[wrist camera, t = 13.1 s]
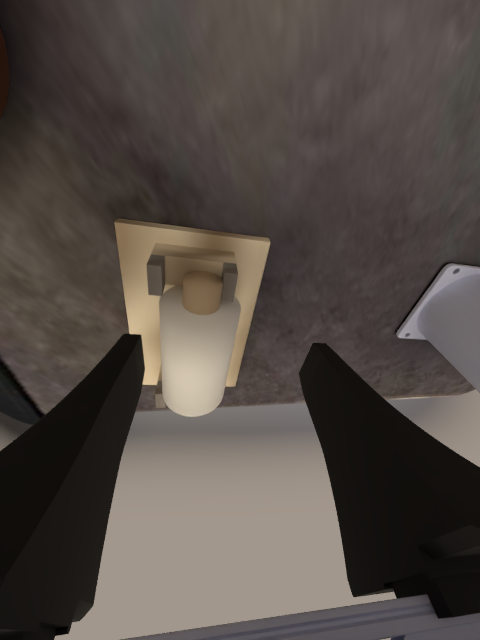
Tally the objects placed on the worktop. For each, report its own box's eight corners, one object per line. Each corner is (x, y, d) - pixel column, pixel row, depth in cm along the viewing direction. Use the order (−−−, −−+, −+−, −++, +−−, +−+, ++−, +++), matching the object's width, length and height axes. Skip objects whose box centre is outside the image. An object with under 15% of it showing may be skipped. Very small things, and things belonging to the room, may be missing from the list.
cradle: (268, 238, 18) (281, 263, 15) (234, 380, 28) (237, 413, 24) (118, 218, 16) (96, 242, 13) (138, 378, 26) (128, 413, 23)
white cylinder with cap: (219, 257, 18) (262, 295, 15) (205, 370, 26) (232, 411, 22) (145, 266, 15) (180, 314, 12) (154, 389, 23) (176, 439, 20)
